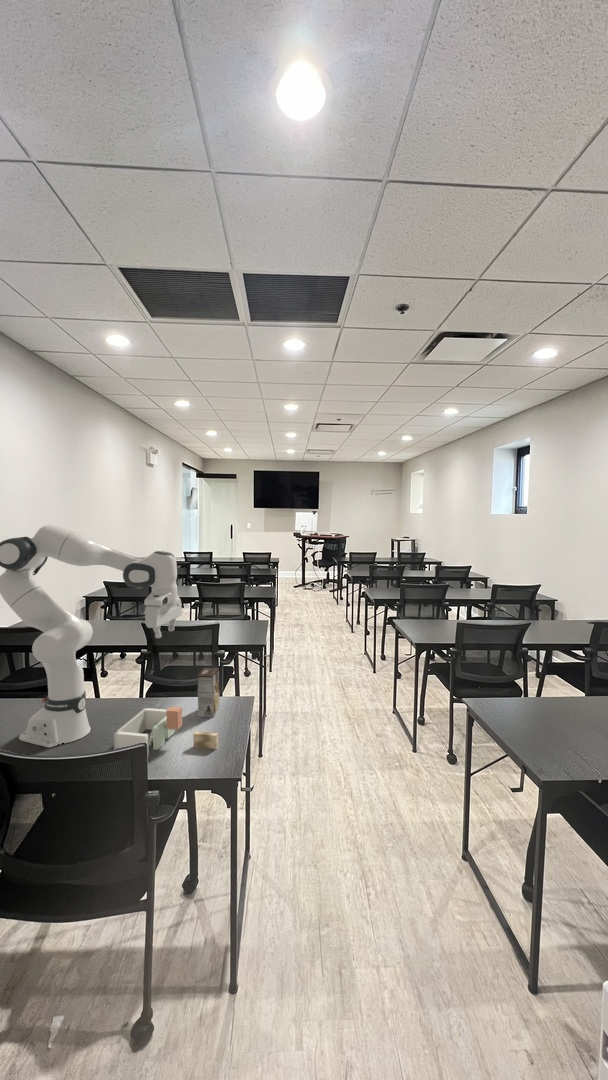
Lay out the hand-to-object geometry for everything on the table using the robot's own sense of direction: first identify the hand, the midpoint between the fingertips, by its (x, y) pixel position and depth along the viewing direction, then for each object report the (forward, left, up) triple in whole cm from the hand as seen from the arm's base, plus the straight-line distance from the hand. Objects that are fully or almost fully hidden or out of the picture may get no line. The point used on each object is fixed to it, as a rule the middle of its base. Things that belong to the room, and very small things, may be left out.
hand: (165, 634), depth 163 cm
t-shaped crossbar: (+8, -13, -32) cm, 36 cm away
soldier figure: (+1, -13, -34) cm, 36 cm away
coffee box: (+12, +12, -34) cm, 37 cm away
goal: (-1, -13, -33) cm, 36 cm away
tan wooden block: (+21, -13, -33) cm, 41 cm away
